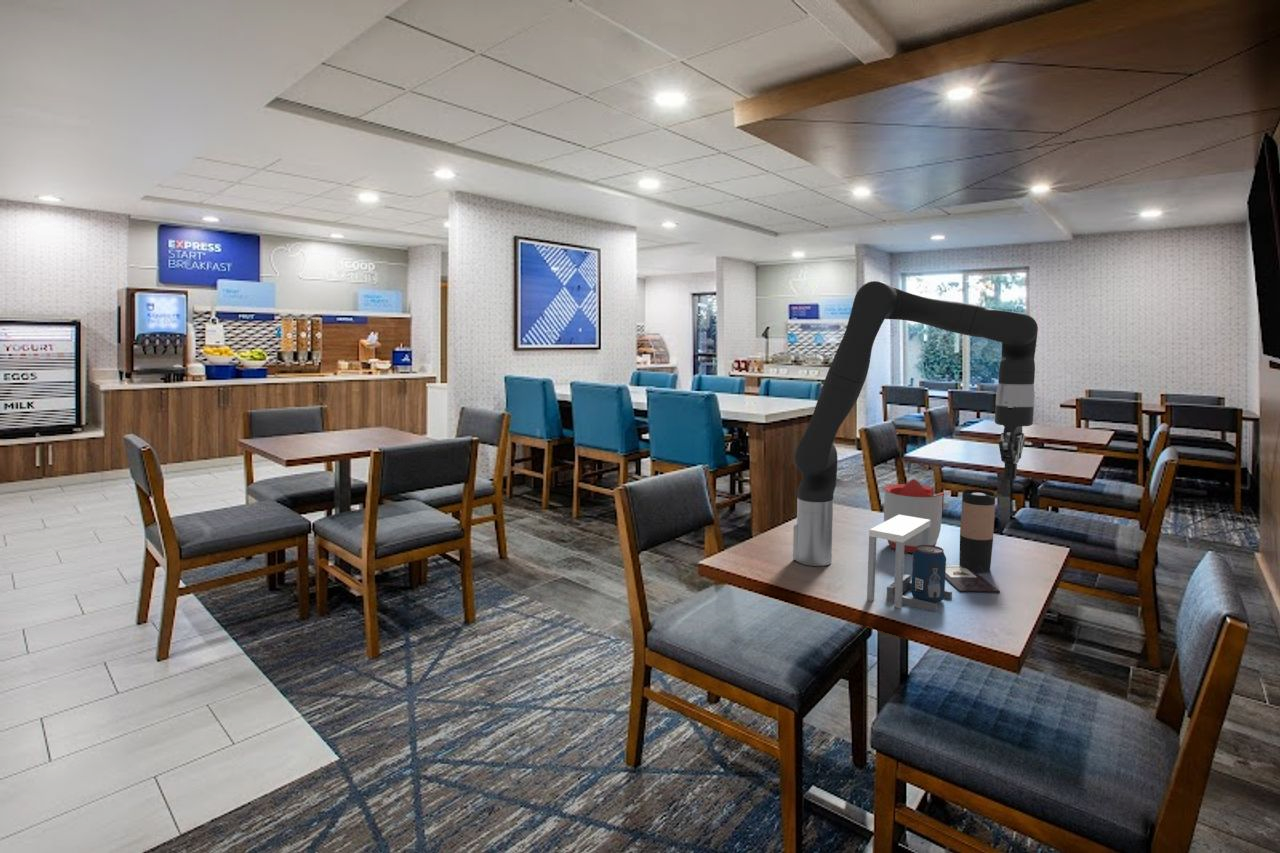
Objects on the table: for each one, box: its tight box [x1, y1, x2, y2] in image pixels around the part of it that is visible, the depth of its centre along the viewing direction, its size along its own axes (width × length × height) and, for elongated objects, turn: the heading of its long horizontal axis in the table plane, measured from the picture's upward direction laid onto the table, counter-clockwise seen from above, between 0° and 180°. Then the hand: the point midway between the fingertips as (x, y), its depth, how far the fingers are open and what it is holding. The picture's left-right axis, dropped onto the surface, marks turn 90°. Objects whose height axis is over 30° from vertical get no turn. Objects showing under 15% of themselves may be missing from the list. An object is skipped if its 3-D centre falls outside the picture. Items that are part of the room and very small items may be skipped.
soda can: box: [910, 545, 947, 605], centre depth 150 cm, size 7×7×12 cm
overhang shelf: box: [866, 515, 953, 613], centre depth 151 cm, size 14×17×16 cm
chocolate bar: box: [945, 564, 1001, 594], centre depth 163 cm, size 9×1×18 cm
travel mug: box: [958, 489, 996, 574], centre depth 170 cm, size 8×8×20 cm
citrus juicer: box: [883, 478, 949, 554], centre depth 187 cm, size 16×17×20 cm
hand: (1009, 479), depth 151 cm, fingers closed
